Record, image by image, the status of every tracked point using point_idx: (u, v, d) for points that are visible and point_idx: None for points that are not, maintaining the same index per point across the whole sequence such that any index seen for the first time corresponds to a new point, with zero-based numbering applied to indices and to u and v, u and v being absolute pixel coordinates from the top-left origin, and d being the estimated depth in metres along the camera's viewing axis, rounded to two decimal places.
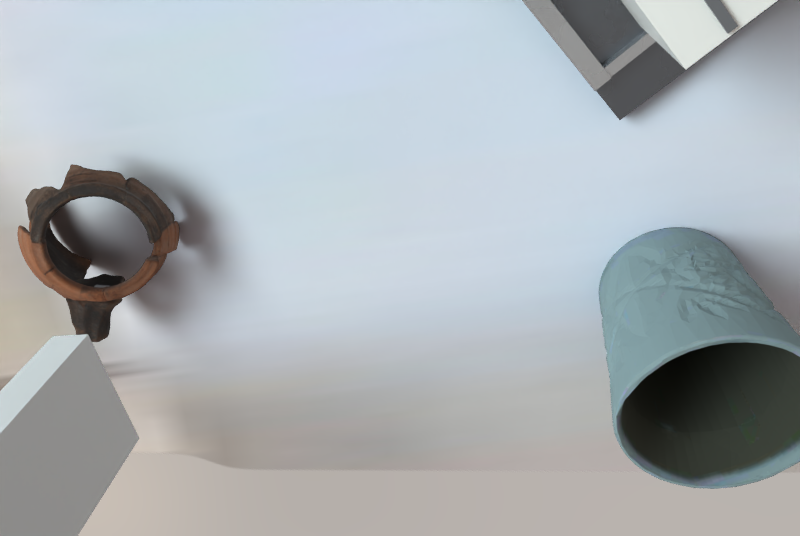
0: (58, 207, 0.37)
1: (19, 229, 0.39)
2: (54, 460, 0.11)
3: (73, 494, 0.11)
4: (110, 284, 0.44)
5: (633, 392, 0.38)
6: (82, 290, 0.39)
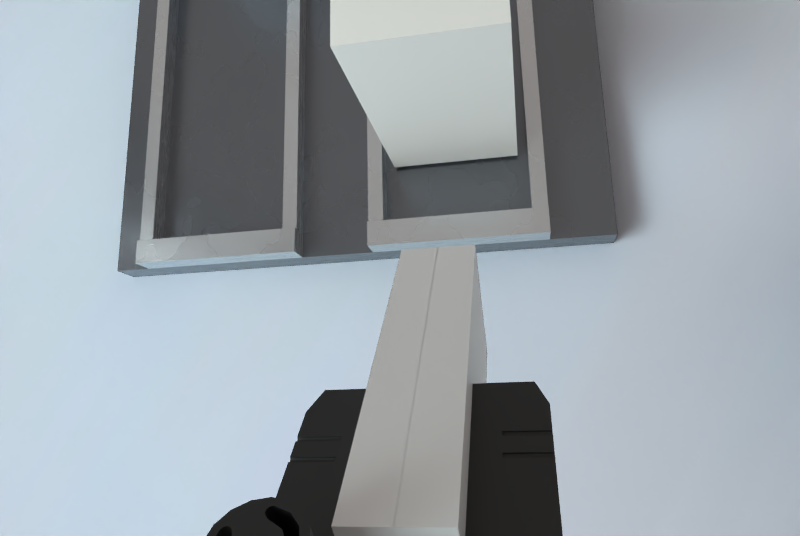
0: None
1: None
2: None
3: None
4: None
5: None
6: None
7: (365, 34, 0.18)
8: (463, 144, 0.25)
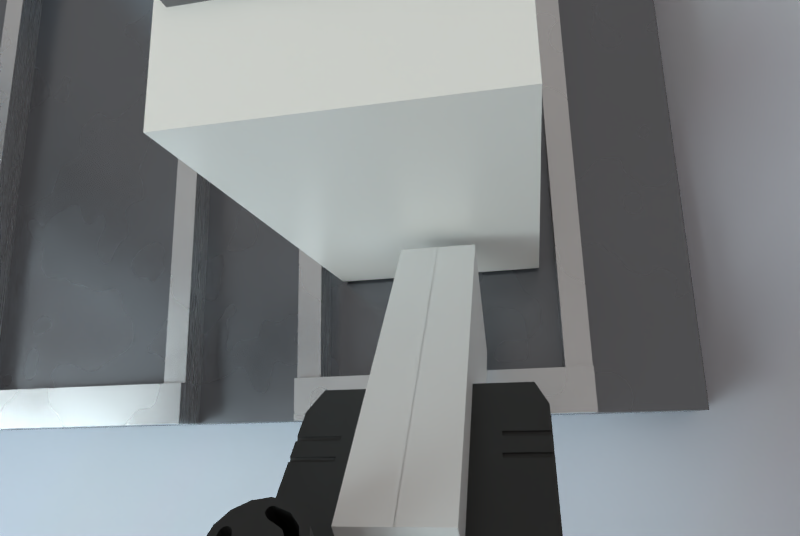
0: None
1: None
2: None
3: None
4: None
5: None
6: None
7: (217, 106, 0.08)
8: None
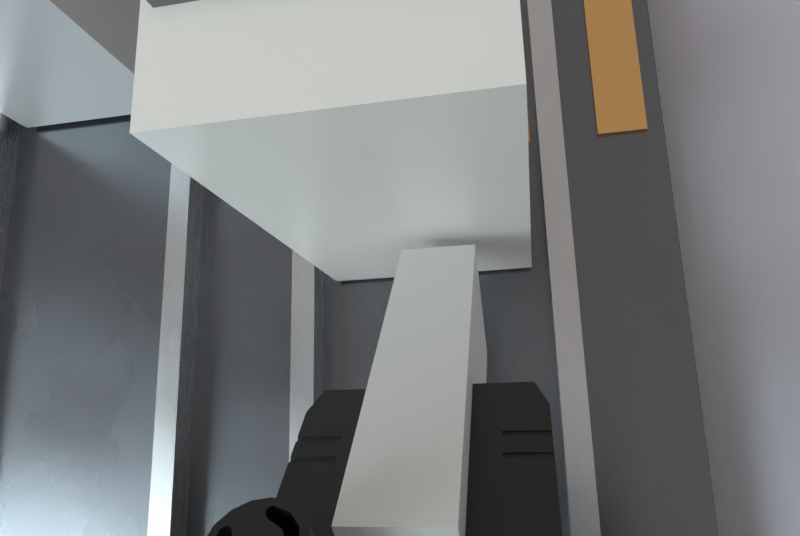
0: None
1: None
2: None
3: None
4: None
5: None
6: None
7: (203, 107, 0.08)
8: None
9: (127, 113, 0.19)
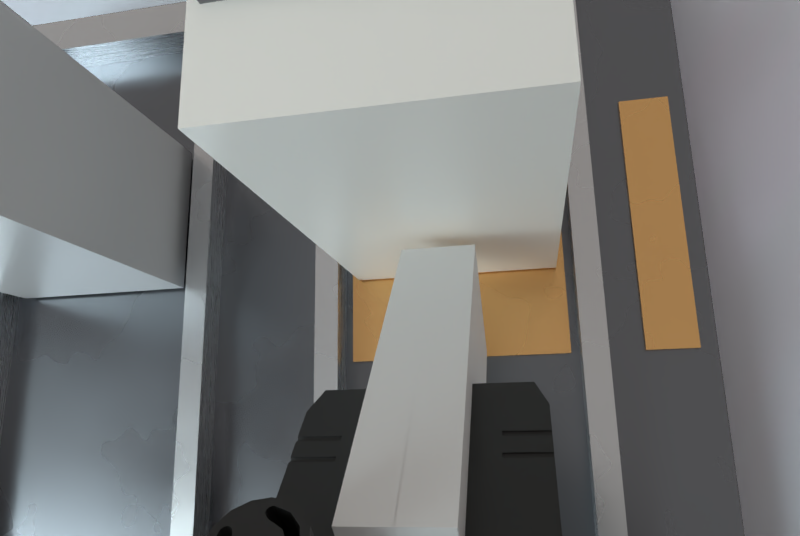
0: None
1: None
2: None
3: None
4: None
5: None
6: None
7: (252, 102, 0.08)
8: None
9: (133, 289, 0.18)
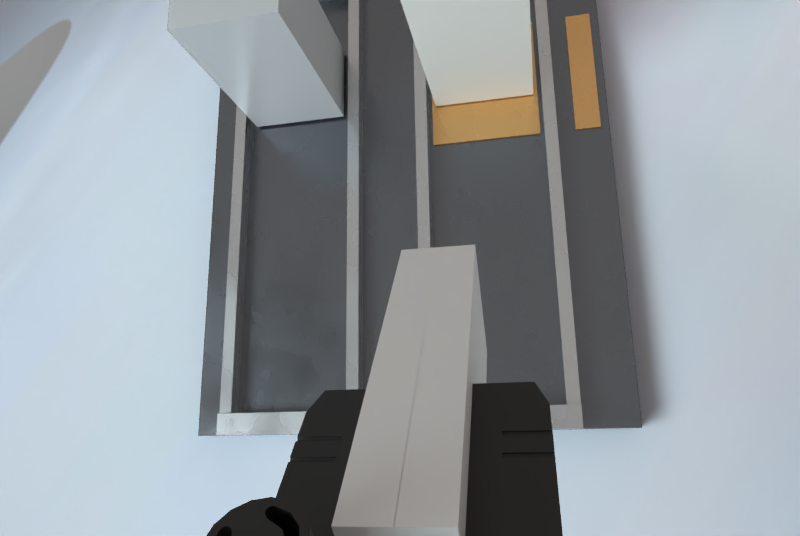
0: None
1: None
2: None
3: None
4: None
5: None
6: None
7: None
8: (490, 83, 0.32)
9: (317, 118, 0.35)
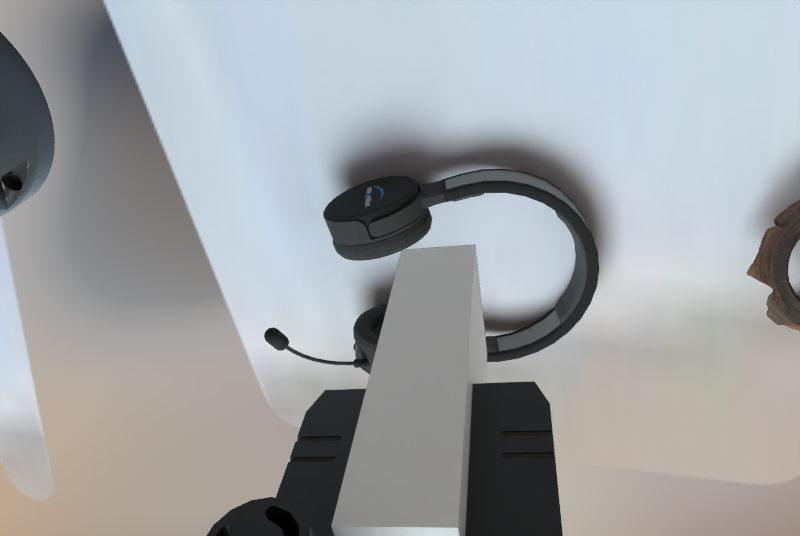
0: (794, 294, 0.35)
1: None
2: None
3: None
4: None
5: None
6: None
7: None
8: None
9: None
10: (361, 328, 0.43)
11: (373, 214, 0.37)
